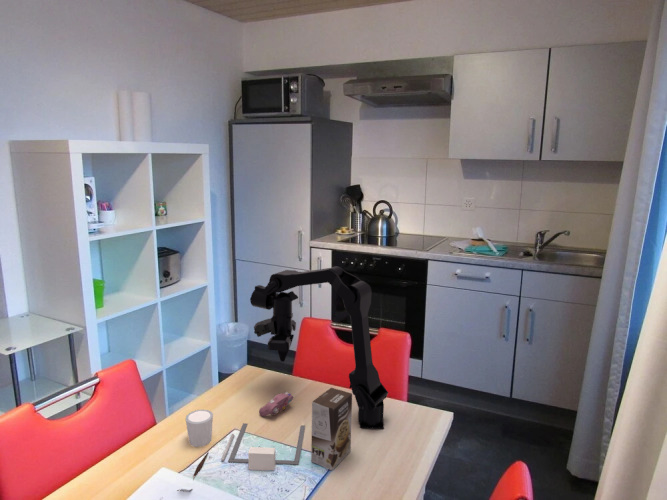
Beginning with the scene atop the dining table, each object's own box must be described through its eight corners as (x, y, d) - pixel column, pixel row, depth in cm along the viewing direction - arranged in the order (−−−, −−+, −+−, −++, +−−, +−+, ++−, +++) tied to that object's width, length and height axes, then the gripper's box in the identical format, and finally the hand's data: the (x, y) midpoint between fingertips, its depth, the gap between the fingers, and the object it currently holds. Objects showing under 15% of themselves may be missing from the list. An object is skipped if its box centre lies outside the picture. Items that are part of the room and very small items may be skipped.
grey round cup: (205, 429, 129) (204, 406, 127) (219, 440, 124) (218, 416, 123) (181, 440, 124) (180, 415, 123) (195, 451, 119) (193, 426, 118)
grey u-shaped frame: (305, 426, 131) (305, 411, 130) (297, 471, 112) (297, 454, 112) (236, 424, 132) (236, 409, 131) (217, 468, 113) (217, 452, 112)
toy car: (266, 424, 134) (274, 408, 131) (256, 413, 136) (263, 396, 133) (290, 410, 142) (298, 394, 139) (280, 399, 144) (287, 383, 141)
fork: (213, 454, 119) (213, 447, 119) (187, 499, 103) (187, 491, 103) (203, 453, 119) (203, 446, 119) (176, 498, 104) (175, 490, 103)
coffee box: (332, 471, 113) (333, 409, 109) (310, 462, 116) (310, 401, 113) (351, 451, 120) (353, 393, 117) (330, 443, 124) (331, 386, 120)
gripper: (261, 302, 153) (262, 347, 156) (249, 322, 135) (250, 373, 138) (296, 302, 153) (296, 348, 156) (288, 323, 134) (289, 374, 137)
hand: (282, 360), depth 147 cm, fingers closed
